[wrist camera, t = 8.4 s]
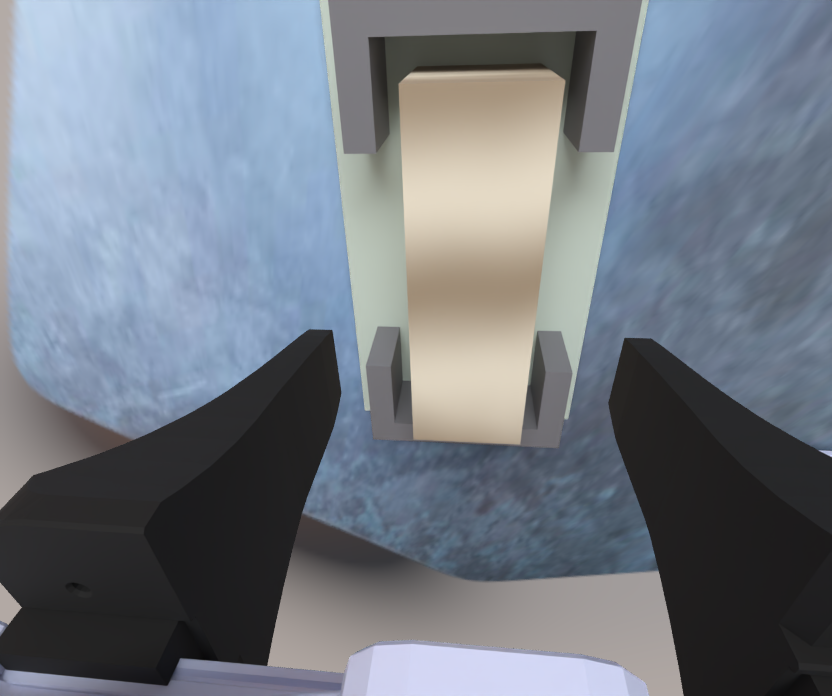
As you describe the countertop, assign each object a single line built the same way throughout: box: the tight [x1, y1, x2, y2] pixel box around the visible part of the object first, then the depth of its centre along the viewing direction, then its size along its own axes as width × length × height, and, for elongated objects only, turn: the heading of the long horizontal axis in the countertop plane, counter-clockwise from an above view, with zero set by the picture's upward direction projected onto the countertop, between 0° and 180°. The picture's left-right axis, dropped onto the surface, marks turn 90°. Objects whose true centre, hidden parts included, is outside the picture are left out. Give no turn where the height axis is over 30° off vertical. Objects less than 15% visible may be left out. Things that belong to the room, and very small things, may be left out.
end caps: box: [320, 0, 649, 448], centre depth 19 cm, size 18×10×4 cm, turn 2°
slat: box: [399, 63, 565, 445], centre depth 17 cm, size 12×4×5 cm, turn 2°
